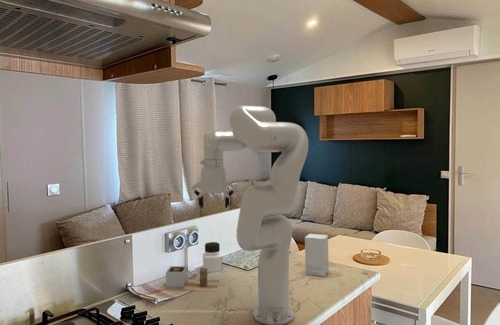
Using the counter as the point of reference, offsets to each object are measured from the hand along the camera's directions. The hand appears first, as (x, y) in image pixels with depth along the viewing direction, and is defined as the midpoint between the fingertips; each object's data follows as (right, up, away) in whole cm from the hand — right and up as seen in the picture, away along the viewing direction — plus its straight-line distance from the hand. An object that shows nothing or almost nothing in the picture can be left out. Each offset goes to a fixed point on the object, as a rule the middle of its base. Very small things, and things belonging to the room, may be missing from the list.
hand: (214, 207), depth 149 cm
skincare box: (+41, -28, +7) cm, 50 cm away
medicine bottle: (-2, -28, +10) cm, 30 cm away
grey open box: (-13, -28, -8) cm, 32 cm away
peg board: (-8, -29, -8) cm, 31 cm away
